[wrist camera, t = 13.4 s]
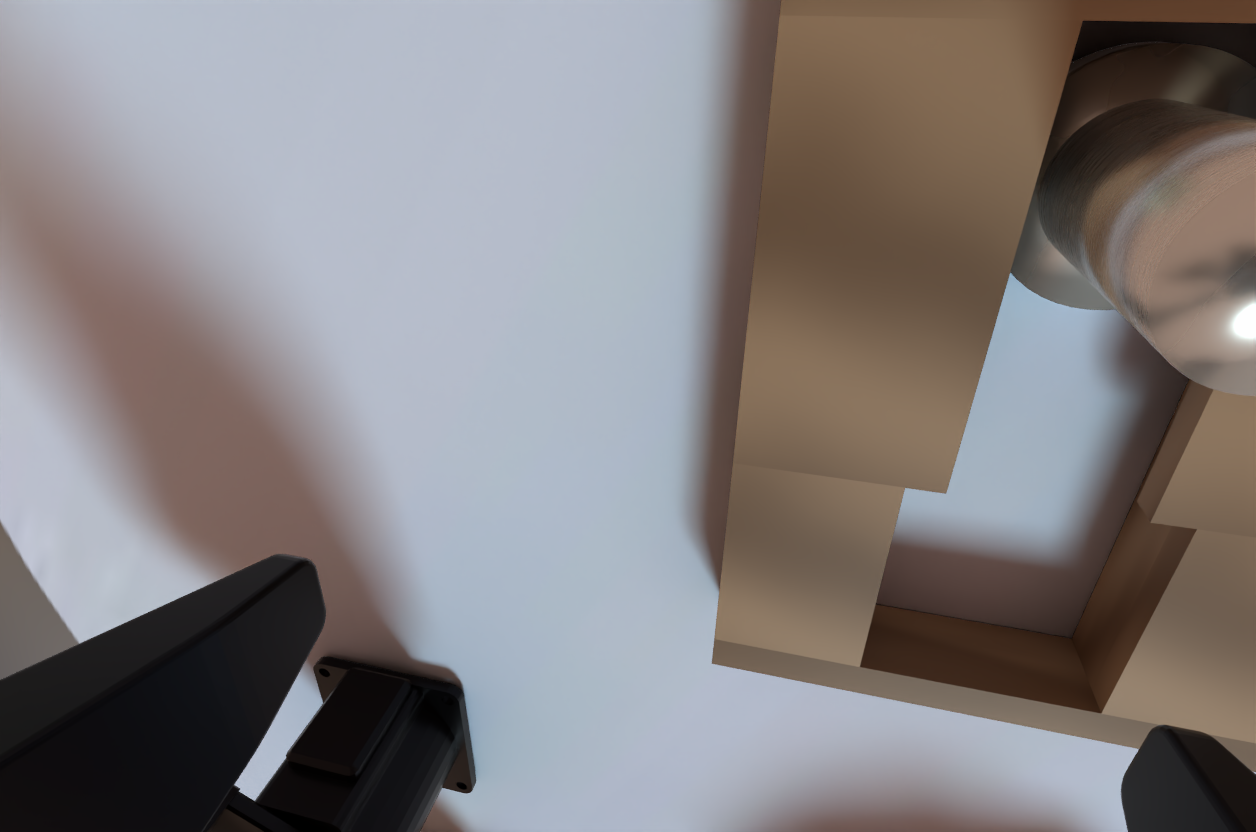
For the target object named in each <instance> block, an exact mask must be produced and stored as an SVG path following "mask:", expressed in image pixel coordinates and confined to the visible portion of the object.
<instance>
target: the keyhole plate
mask: <svg viewBox="0 0 1256 832" xmlns="http://www.w3.org/2000/svg"><path fill="white" fill-rule="evenodd" d="M1083 21H1141V22H1202V23H1256V0H781V7H780V16H779V26H778V35H777V45H776V54H775V64H774V74H773V83H772V93H771V102H770V112H769V121H768V131H767V141H766V150H765V160H764V169H763V179H762V188H761V198H760V208H759V217H758V227H757V236H756V246H755V255H754V265H753V275H752V284H751V294H750V303H749V313H748V323H747V332H746V342H745V351H744V361H743V370H742V380H741V390H740V399H739V409H738V418H737V428H736V437H735V447H734V457H733V466H732V476H731V485H730V495H729V504H728V514H727V524H726V533H725V543H724V552H723V562H722V571H721V581H720V591H719V600H718V610H717V619H716V629H715V638H714V648H713V658H712V664H717V665H722V666H727V667H732V668H737V669H742V670H747V671H752V672H757V673H762V674H767V675H772V676H777V677H782V678H787V679H792V680H797V681H802V682H807V683H812V684H817V685H822V686H827V687H832V688H837V689H842V690H847V691H852V692H857V693H862V694H867V695H872V696H877V697H882V698H887V699H892V700H897V701H902V702H907V703H912V704H917V705H922V706H927V707H932V708H937V709H942V710H947V711H952V712H957V713H962V714H967V715H972V716H977V717H982V718H987V719H992V720H997V721H1002V722H1007V723H1012V724H1017V725H1022V726H1027V727H1032V728H1037V729H1042V730H1047V731H1052V732H1057V733H1062V734H1067V735H1072V736H1077V737H1082V738H1087V739H1092V740H1097V741H1102V742H1107V743H1112V744H1117V745H1122V746H1127V747H1132V748H1137V749H1140V747H1141V745H1142V743H1143V742H1144V740H1145V738H1146V737H1147V735H1148V733H1149V732H1150V731H1151V729H1152V728H1154V727H1156V726H1158V725H1170V726H1175V727H1180V728H1185V729H1190V730H1195V731H1200V732H1203V733H1206V734H1208V735H1210V736H1212V737H1213V738H1215V739H1216V740H1217V741H1218V742H1220V743H1221V744H1222V745H1223V746H1224V747H1225V748H1226V749H1228V750H1229V751H1230V752H1231V753H1232V754H1233V755H1234V756H1236V757H1237V758H1238V759H1239V760H1240V761H1241V762H1242V763H1243V764H1245V765H1246V766H1247V767H1248V768H1249V769H1250V770H1251V771H1253V772H1256V396H1246V395H1237V394H1231V393H1225V392H1221V391H1218V390H1214V389H1211V388H1208V387H1206V386H1203V385H1201V384H1199V383H1196V382H1194V381H1193V380H1191V379H1189V381H1188V383H1187V385H1186V387H1185V389H1184V392H1183V394H1182V396H1181V398H1180V401H1179V403H1178V405H1177V407H1176V409H1175V412H1174V414H1173V416H1172V418H1171V420H1170V423H1169V425H1168V427H1167V429H1166V431H1165V434H1164V436H1163V438H1162V440H1161V442H1160V445H1159V447H1158V449H1157V451H1156V454H1155V456H1154V458H1153V460H1152V462H1151V465H1150V467H1149V469H1148V471H1147V473H1146V476H1145V478H1144V480H1143V482H1142V484H1141V487H1140V489H1139V491H1138V493H1137V496H1136V498H1135V500H1134V502H1133V504H1132V507H1131V509H1130V511H1129V513H1128V515H1127V518H1126V520H1125V522H1124V524H1123V526H1122V529H1121V531H1120V533H1119V535H1118V538H1117V540H1116V542H1115V544H1114V546H1113V549H1112V551H1111V553H1110V555H1109V557H1108V560H1107V562H1106V564H1105V566H1104V568H1103V571H1102V573H1101V575H1100V577H1099V580H1098V582H1097V584H1096V586H1095V588H1094V591H1093V593H1092V595H1091V597H1090V599H1089V602H1088V604H1087V606H1086V608H1085V610H1084V613H1083V615H1082V617H1081V619H1080V621H1079V624H1078V626H1077V628H1076V630H1075V633H1074V635H1073V637H1072V639H1071V638H1065V637H1060V636H1054V635H1048V634H1042V633H1037V632H1031V631H1025V630H1020V629H1014V628H1008V627H1002V626H997V625H991V624H985V623H980V622H974V621H968V620H962V619H957V618H951V617H945V616H940V615H934V614H928V613H922V612H917V611H911V610H905V609H900V608H894V607H888V606H882V605H877V604H876V601H877V597H878V593H879V589H880V585H881V581H882V577H883V573H884V569H885V565H886V561H887V557H888V553H889V549H890V545H891V541H892V537H893V533H894V529H895V525H896V521H897V518H898V514H899V510H900V506H901V502H902V498H903V494H904V490H905V488H911V489H918V490H925V491H932V492H939V493H946V492H947V489H948V485H949V482H950V478H951V475H952V471H953V468H954V465H955V461H956V458H957V454H958V451H959V447H960V444H961V440H962V437H963V433H964V430H965V427H966V423H967V420H968V416H969V413H970V409H971V406H972V402H973V399H974V395H975V392H976V389H977V385H978V382H979V378H980V375H981V371H982V368H983V364H984V361H985V357H986V354H987V350H988V347H989V344H990V340H991V337H992V333H993V330H994V326H995V323H996V319H997V316H998V312H999V309H1000V306H1001V302H1002V299H1003V295H1004V292H1005V288H1006V285H1007V281H1008V278H1009V274H1010V271H1011V268H1012V264H1013V261H1014V257H1015V254H1016V250H1017V247H1018V243H1019V240H1020V236H1021V233H1022V229H1023V226H1024V223H1025V219H1026V216H1027V212H1028V209H1029V205H1030V202H1031V198H1032V195H1033V191H1034V188H1035V185H1036V181H1037V178H1038V174H1039V171H1040V167H1041V164H1042V160H1043V157H1044V153H1045V150H1046V146H1047V143H1048V140H1049V136H1050V133H1051V129H1052V126H1053V122H1054V119H1055V115H1056V112H1057V108H1058V105H1059V102H1060V98H1061V95H1062V91H1063V88H1064V84H1065V81H1066V77H1067V74H1068V70H1069V67H1070V64H1071V60H1072V57H1073V53H1074V50H1075V46H1076V43H1077V39H1078V36H1079V32H1080V29H1081V25H1082V22H1083Z"/></svg>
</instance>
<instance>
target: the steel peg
mask: <svg viewBox="0 0 1256 832" xmlns="http://www.w3.org/2000/svg"><path fill="white" fill-rule="evenodd" d="M1010 272H1011V273H1012V274H1013V276H1014V277H1015V278H1016V279H1017V280H1018V281H1019V282H1021V283H1022V284H1023V285H1024V286H1026V287H1027V288H1028V289H1029V290H1031V291H1033V292H1034V293H1036V294H1038V295H1039V296H1041V297H1043V298H1046V299H1048V300H1050V301H1053V302H1055V303H1059V304H1062V305H1066V306H1069V307H1075V308H1081V309H1090V310H1111V309H1116V310H1117V311H1118V312H1119V313H1120V314H1121V315H1122V316H1123V317H1124V318H1125V319H1126V320H1127V321H1128V322H1129V323H1130V324H1131V325H1132V326H1133V327H1134V328H1135V329H1136V330H1137V331H1138V332H1139V333H1140V334H1141V335H1142V336H1143V337H1144V338H1145V339H1146V340H1147V341H1148V342H1149V343H1150V344H1151V345H1152V346H1153V347H1154V348H1155V349H1156V350H1157V351H1158V352H1159V353H1160V354H1161V355H1162V356H1163V357H1164V358H1165V359H1166V360H1167V361H1168V362H1169V363H1170V364H1171V365H1172V366H1173V367H1174V368H1175V369H1177V370H1178V371H1179V372H1180V373H1181V374H1183V375H1184V376H1186V377H1188V378H1189V379H1191V380H1193V381H1194V382H1196V383H1199V384H1201V385H1203V386H1206V387H1208V388H1211V389H1214V390H1218V391H1221V392H1225V393H1231V394H1237V395H1246V396H1256V68H1255V67H1254V66H1252V65H1250V64H1249V63H1247V62H1246V61H1244V60H1242V59H1241V58H1239V57H1237V56H1235V55H1232V54H1230V53H1227V52H1225V51H1222V50H1219V49H1215V48H1211V47H1207V46H1202V45H1192V44H1181V43H1167V42H1135V43H1130V44H1124V45H1118V46H1114V47H1110V48H1107V49H1103V50H1100V51H1096V52H1094V53H1092V54H1089V55H1087V56H1084V57H1082V58H1080V59H1077V60H1076V61H1074V62H1072V63H1071V64H1070V67H1069V70H1068V74H1067V77H1066V81H1065V84H1064V88H1063V91H1062V95H1061V98H1060V102H1059V105H1058V108H1057V112H1056V115H1055V119H1054V122H1053V126H1052V129H1051V133H1050V136H1049V140H1048V143H1047V146H1046V150H1045V153H1044V157H1043V160H1042V164H1041V167H1040V171H1039V174H1038V178H1037V181H1036V185H1035V188H1034V191H1033V195H1032V198H1031V202H1030V205H1029V209H1028V212H1027V216H1026V219H1025V223H1024V226H1023V229H1022V233H1021V236H1020V240H1019V243H1018V247H1017V250H1016V254H1015V257H1014V261H1013V264H1012V268H1011V271H1010Z"/></svg>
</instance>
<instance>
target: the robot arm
mask: <svg viewBox="0 0 1256 832" xmlns="http://www.w3.org/2000/svg"><path fill="white" fill-rule="evenodd" d="M325 617H326V608H325V603H324V599H323V595H322V590H321V586H320V582H319V578H318V573H317V569H316V566H315V565H314V563H313V562H312V561H311V560H309V559H307V558H302V557H297V556H292V555H287V554H277V555H273V556H271V557H269V558H266V559H264V560H262V561H260V562H258V563H255V564H253V565H251V566H249V567H247V568H244V569H242V570H240V571H238V572H236V573H234V574H231V575H229V576H227V577H225V578H223V579H220V580H218V581H216V582H214V583H212V584H209V585H207V586H205V587H203V588H201V589H198V590H196V591H194V592H192V593H190V594H188V595H185V596H183V597H181V598H179V599H177V600H174V601H172V602H170V603H168V604H166V605H163V606H161V607H159V608H157V609H155V610H152V611H150V612H148V613H146V614H144V615H141V616H139V617H137V618H135V619H133V620H131V621H128V622H126V623H124V624H122V625H120V626H117V627H115V628H113V629H111V630H109V631H106V632H104V633H102V634H100V635H98V636H95V637H93V638H91V639H89V640H87V641H84V642H82V643H80V644H78V645H76V646H74V647H71V648H69V649H67V650H65V651H63V652H60V653H58V654H56V655H54V656H52V657H49V658H47V659H45V660H43V661H41V662H38V663H36V664H34V665H32V666H30V667H28V668H25V669H23V670H21V671H19V672H16V673H14V674H12V675H10V676H8V677H6V678H3V679H1V680H0V832H420V831H421V829H422V827H423V825H424V823H425V821H426V819H427V817H428V815H429V813H430V811H431V809H432V807H433V805H434V803H435V801H436V799H437V797H438V795H439V793H440V791H441V789H442V788H446V789H450V790H454V791H457V792H461V793H470V792H471V791H472V790H473V788H474V786H475V783H476V775H475V768H474V761H473V755H472V748H471V741H470V734H469V728H468V721H467V714H466V707H465V701H464V695H463V692H462V691H461V690H460V689H459V688H458V687H457V686H455V685H452V684H448V683H444V682H439V681H435V680H430V679H426V678H421V677H417V676H412V675H408V674H403V673H399V672H394V671H390V670H385V669H381V668H376V667H372V666H367V665H363V664H358V663H354V662H349V661H345V660H340V659H336V658H331V657H321V658H320V659H319V661H318V662H317V663H316V665H315V666H314V673H315V677H316V680H317V683H318V687H319V690H320V693H321V697H322V700H323V704H322V706H321V707H320V708H319V710H318V711H317V713H316V714H315V715H314V717H313V718H312V719H311V721H310V722H309V723H308V725H307V726H306V728H305V729H304V730H303V732H302V733H301V734H300V736H299V737H298V738H297V740H296V741H295V743H294V744H293V745H292V747H291V748H290V749H289V751H288V752H287V755H286V759H285V760H284V762H283V763H282V764H281V766H280V767H279V768H278V770H277V771H276V773H275V774H274V775H273V777H272V778H271V779H270V781H269V782H268V784H267V785H266V786H265V788H264V789H263V790H262V792H261V793H260V795H259V796H258V797H257V799H256V800H255V801H253V800H252V799H250V798H249V797H247V796H245V795H244V794H242V793H240V792H239V790H240V788H238V787H237V786H235V785H234V784H235V782H236V781H237V779H238V778H239V776H240V775H241V773H242V772H243V770H244V769H245V767H246V766H247V764H248V763H249V761H250V759H251V758H252V756H253V755H254V753H255V752H256V750H257V748H258V747H259V745H260V743H261V741H262V740H263V738H264V736H265V735H266V733H267V731H268V729H269V728H270V726H271V724H272V722H273V720H274V718H275V716H276V715H277V713H278V711H279V709H280V707H281V705H282V703H283V702H284V700H285V698H286V696H287V694H288V692H289V690H290V689H291V687H292V685H293V683H294V681H295V679H296V677H297V676H298V674H299V672H300V670H301V668H302V666H303V664H304V663H305V661H306V659H307V657H308V655H309V653H310V652H311V650H312V648H313V646H314V644H315V642H316V640H317V639H318V637H319V635H320V633H321V631H322V629H323V626H324V623H325ZM1121 799H1122V805H1123V810H1124V815H1125V820H1126V825H1127V829H1128V832H1256V774H1255V773H1254V772H1252V771H1251V770H1250V769H1249V768H1248V767H1247V766H1246V765H1245V764H1243V763H1242V762H1241V761H1240V760H1239V759H1238V758H1237V757H1236V756H1234V755H1233V754H1232V753H1231V752H1230V751H1229V750H1228V749H1226V748H1225V747H1224V746H1223V745H1222V744H1221V743H1220V742H1218V741H1217V740H1216V739H1215V738H1213V737H1212V736H1210V735H1208V734H1206V733H1203V732H1200V731H1195V730H1190V729H1185V728H1180V727H1175V726H1170V725H1158V726H1156V727H1154V728H1152V729H1151V731H1150V732H1149V733H1148V735H1147V737H1146V738H1145V740H1144V742H1143V743H1142V745H1141V747H1140V749H1139V750H1138V752H1137V754H1136V755H1135V757H1134V759H1133V761H1132V762H1131V764H1130V766H1129V767H1128V769H1127V771H1126V773H1125V775H1124V777H1123V781H1122V787H1121Z"/></svg>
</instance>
